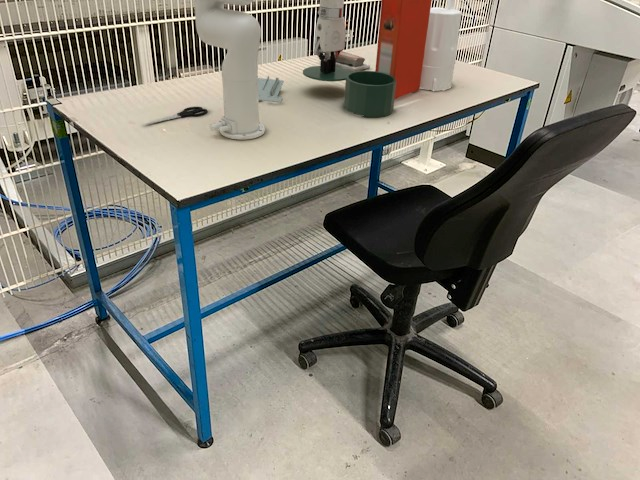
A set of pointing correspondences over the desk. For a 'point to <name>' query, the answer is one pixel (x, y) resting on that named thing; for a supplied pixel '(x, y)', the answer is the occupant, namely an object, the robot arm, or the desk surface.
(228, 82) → the robot arm
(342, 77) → the lid
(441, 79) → the white cylindrical canister
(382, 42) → the file binder
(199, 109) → the scissors
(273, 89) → the metal bracket
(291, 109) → the desk surface
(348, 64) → the packaged product
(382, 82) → the pot
